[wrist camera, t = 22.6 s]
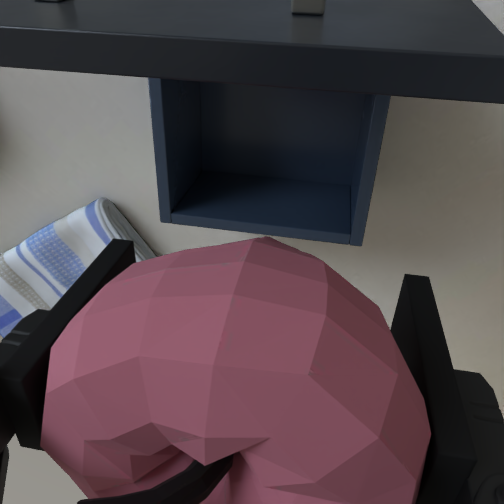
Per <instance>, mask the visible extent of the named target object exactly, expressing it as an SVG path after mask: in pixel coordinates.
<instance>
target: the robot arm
mask: <svg viewBox="0 0 504 504" xmlns="http://www.w3.org/2000/svg"><path fill="white" fill-rule="evenodd" d="M133 263H136V257H135V249H134V242H133V241H132V240H124V239H115V238H113V239H112V240H111V242H110V243H109V244H108V245H107V246H106V247H105V248H104V249H103V251H102V252H101V253H100V254H99V255H98V256H97V257H96V259H95V260H94V261H93V262H92V263H91V264H90V265H89V267H88V268H87V269H86V270H85V271H84V272H83V273H82V274H81V276H80V277H79V278H78V279H77V280H76V281H75V282H74V284H73V285H72V286H71V287H70V288H69V289H68V290H67V291H66V293H65V294H64V295H63V296H62V297H61V298H60V299H59V301H58V302H57V303H56V304H55V305H54V306H53V307H52V309H51V310H43V309H37V310H35V311H34V312H32V313H30V314H29V315H27V316H25V317H24V318H22V319H21V320H20V321H19V322H18V323H17V325H16V326H15V327H14V328H13V329H12V330H11V333H8V334H7V335H6V336H5V337H4V338H3V339H2V342H1V343H0V504H2V501H3V494H4V487H5V481H6V473H7V467H8V460H9V450H8V447H7V444H8V443H9V441H10V440H11V438H12V437H13V436H14V434H15V433H16V436H17V438H18V441H19V443H20V446H22V447H27V448H32V449H37V450H42V451H44V450H43V449H42V447H41V446H40V442H41V432H42V423H43V413H44V404H45V394H46V386H47V378H48V369H49V361H50V353H51V347H52V346H53V345H54V343H55V342H56V340H57V339H58V338H59V336H60V335H61V333H62V332H63V330H64V329H65V328H66V326H67V325H68V323H69V322H70V321H71V320H72V319H73V318H74V317H75V315H76V314H77V313H78V312H79V311H80V310H81V309H82V308H83V307H84V306H85V305H86V304H87V303H88V302H89V301H90V300H91V299H92V298H93V297H94V296H95V295H96V294H97V293H98V292H99V291H100V290H101V289H102V288H103V287H104V286H105V285H106V284H107V283H108V282H110V281H111V280H112V279H114V278H115V277H116V276H118V275H119V274H120V273H121V272H123V271H124V270H125V269H127V268H128V267H129V266H130V265H132V264H133ZM390 331H391V333H392V335H393V338H394V340H395V342H396V344H397V346H398V348H399V350H400V352H401V354H402V356H403V358H404V360H405V362H406V364H407V366H408V368H409V370H410V372H411V374H412V376H413V378H414V380H415V382H416V384H417V386H418V388H419V390H420V392H421V394H422V396H423V398H424V401H425V406H426V411H427V416H428V421H429V426H430V430H431V437H430V442H429V446H428V451H427V456H426V461H425V465H424V470H423V475H422V480H421V484H420V489H419V493H418V496H417V500H416V503H415V504H504V419H503V416H502V413H501V410H500V409H499V405H498V402H497V399H496V396H495V393H494V390H493V388H492V387H491V386H490V385H489V384H488V382H487V381H486V380H485V379H484V378H483V376H482V375H481V374H480V373H475V372H468V371H461V370H455V369H453V365H452V362H451V358H450V354H449V350H448V347H447V343H446V339H445V335H444V332H443V328H442V324H441V320H440V317H439V313H438V309H437V305H436V302H435V298H434V294H433V290H432V287H431V283H430V279H429V277H427V276H418V275H410V274H405V276H404V279H403V283H402V287H401V291H400V295H399V299H398V303H397V306H396V310H395V314H394V318H393V322H392V326H391V330H390Z"/></svg>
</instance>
